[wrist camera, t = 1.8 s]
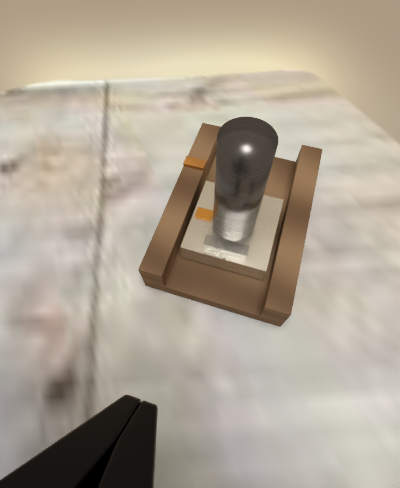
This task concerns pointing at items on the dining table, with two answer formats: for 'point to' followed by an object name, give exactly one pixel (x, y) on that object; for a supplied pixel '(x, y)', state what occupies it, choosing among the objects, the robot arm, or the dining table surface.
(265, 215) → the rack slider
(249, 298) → the walnut guide
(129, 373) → the dining table surface
